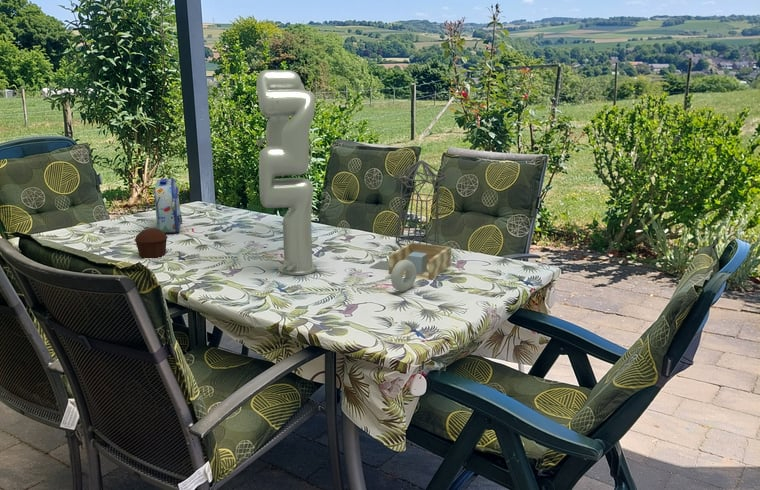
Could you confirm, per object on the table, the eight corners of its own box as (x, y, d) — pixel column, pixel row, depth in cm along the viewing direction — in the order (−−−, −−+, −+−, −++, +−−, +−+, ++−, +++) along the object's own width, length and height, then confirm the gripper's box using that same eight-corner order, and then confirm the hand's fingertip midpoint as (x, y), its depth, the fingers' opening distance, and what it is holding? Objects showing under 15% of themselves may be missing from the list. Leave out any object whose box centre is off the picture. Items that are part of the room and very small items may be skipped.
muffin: (155, 261, 238) (152, 234, 235) (129, 258, 241) (126, 231, 239) (175, 252, 249) (173, 226, 246) (150, 250, 252) (148, 224, 250)
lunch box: (183, 235, 274) (179, 182, 268) (156, 237, 271) (152, 184, 265) (181, 221, 299) (178, 172, 294) (157, 223, 296) (153, 173, 291)
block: (421, 274, 222) (421, 257, 220) (407, 272, 224) (407, 255, 222) (426, 270, 226) (427, 253, 224) (413, 268, 228) (413, 251, 226)
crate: (431, 281, 216) (432, 260, 214) (389, 275, 222) (389, 255, 221) (450, 266, 233) (451, 247, 231) (410, 261, 239) (410, 242, 237)
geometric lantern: (408, 247, 258) (412, 156, 249) (445, 253, 250) (450, 160, 241) (387, 256, 245) (391, 160, 236) (425, 263, 237) (430, 165, 228)
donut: (410, 286, 212) (410, 255, 209) (418, 288, 209) (419, 257, 207) (388, 293, 205) (388, 262, 202) (396, 296, 202) (396, 264, 200)
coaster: (393, 272, 226) (393, 270, 226) (369, 269, 229) (369, 267, 229) (404, 265, 234) (404, 263, 233) (380, 262, 237) (380, 260, 237)
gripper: (256, 119, 251) (258, 164, 255) (302, 118, 256) (303, 162, 260) (254, 117, 258) (256, 162, 262) (299, 117, 263) (300, 160, 267)
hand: (280, 162), depth 261 cm, fingers open, 9 cm apart
